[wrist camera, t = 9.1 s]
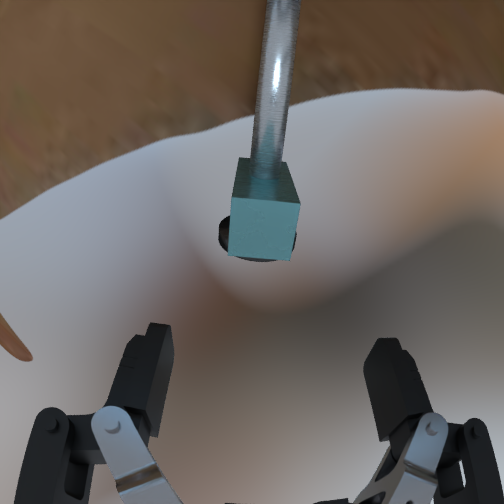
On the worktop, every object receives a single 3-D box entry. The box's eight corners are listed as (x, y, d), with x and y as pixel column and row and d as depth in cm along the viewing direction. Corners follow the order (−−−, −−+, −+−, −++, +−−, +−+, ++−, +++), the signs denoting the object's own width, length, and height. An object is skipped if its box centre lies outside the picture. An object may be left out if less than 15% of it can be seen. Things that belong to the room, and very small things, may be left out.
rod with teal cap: (319, -11, 16) (351, -49, 9) (288, 218, 28) (301, 277, 20) (244, -21, 16) (239, -66, 9) (223, 212, 28) (211, 270, 20)
